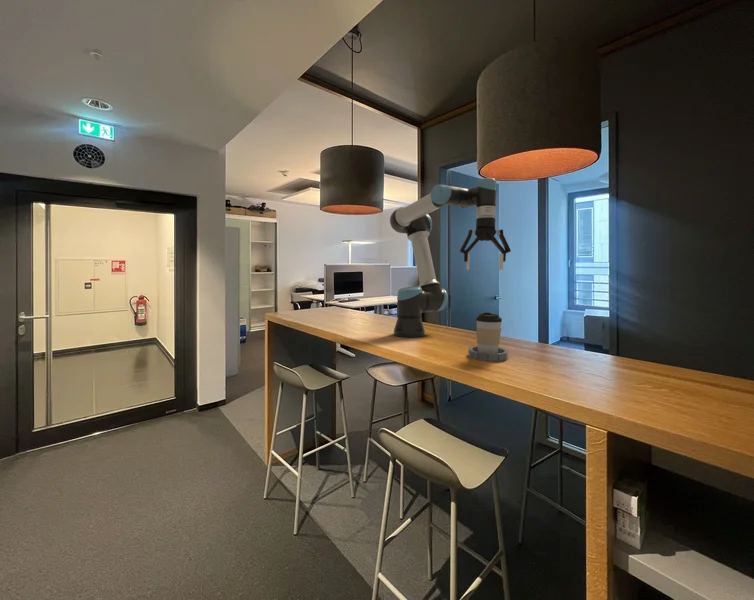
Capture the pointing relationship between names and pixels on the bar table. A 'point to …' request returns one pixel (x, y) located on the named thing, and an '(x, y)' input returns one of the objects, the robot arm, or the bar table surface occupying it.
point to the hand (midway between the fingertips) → (484, 269)
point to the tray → (500, 356)
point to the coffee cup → (488, 333)
